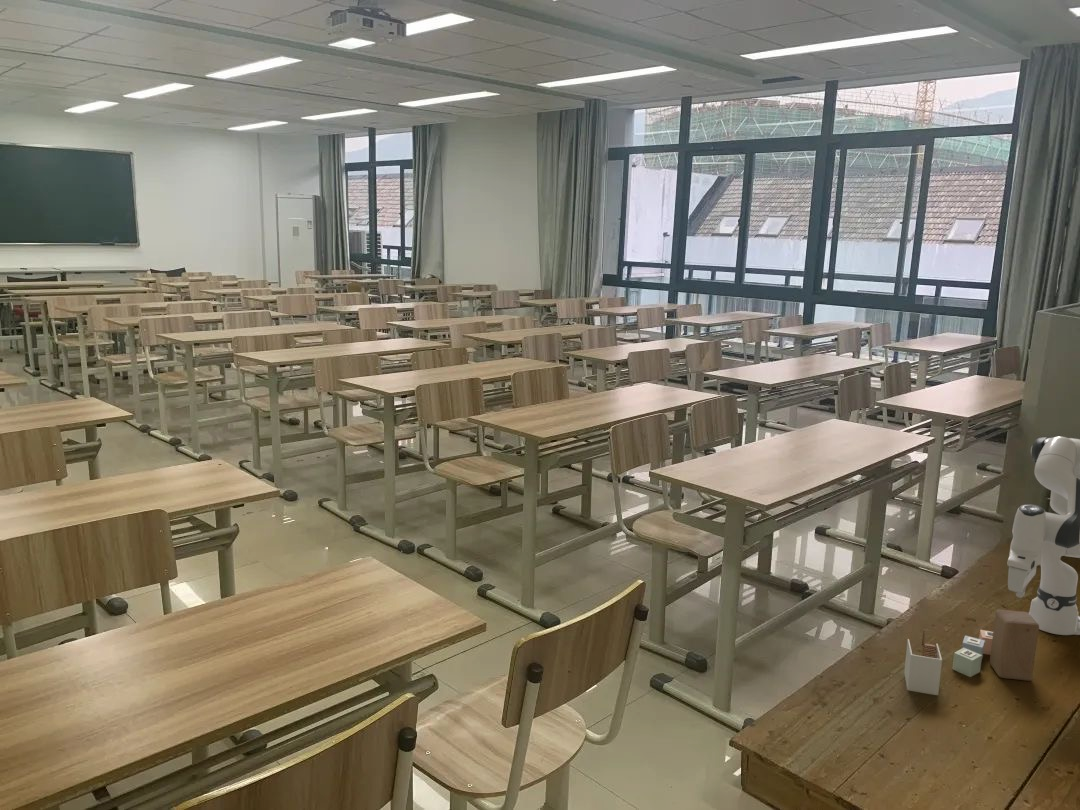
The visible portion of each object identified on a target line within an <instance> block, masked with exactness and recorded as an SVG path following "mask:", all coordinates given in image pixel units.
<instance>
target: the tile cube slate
mask: <svg viewBox="0 0 1080 810" xmlns="http://www.w3.org/2000/svg"><path fill="white" fill-rule="evenodd" d="M984 644H985V640H981V639H979V638H977V637H972V636H969V635H964V638H963V640H962V644H961V649H962V648H966V649H969V650H971V651H973V652H976V653H978V654H980V655H982V660H981V662H982V661H983V659H984V658H983V657H984V654H983V652H984Z"/></svg>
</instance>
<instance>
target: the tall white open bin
mask: <svg viewBox="0 0 1080 810" xmlns="http://www.w3.org/2000/svg"><path fill="white" fill-rule="evenodd" d="M921 646H922V655H918V654H917V655H916V654H913V651H912V647H911V643H910V639H909V638H907V642H906V654H905V662H904V670H903V671H904V673H903V674H904V679H905V685H906V690H907V691H909V692H910V691H911V692H915V693H916V692H917V693H921V694H927V695H931V696H932V695H933V696H939V691H940V690H939V689H940V683H941V682H940V681H941V672H942V666H943V665H942V664H943V658H942V655H941V652H940V648H939V644H938V643H935V644H929V643H926V638H925V629H923V631H922V641H921Z"/></svg>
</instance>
